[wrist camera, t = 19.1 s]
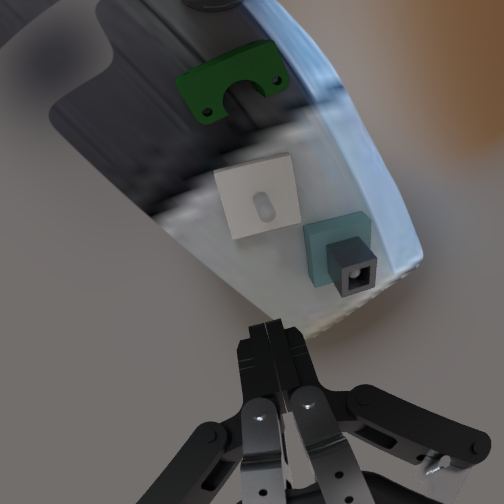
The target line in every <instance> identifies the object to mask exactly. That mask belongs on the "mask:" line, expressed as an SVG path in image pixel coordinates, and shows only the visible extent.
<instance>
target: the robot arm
mask: <svg viewBox="0 0 504 504" xmlns="http://www.w3.org/2000/svg"><path fill="white" fill-rule="evenodd" d="M182 1H183V2H184V3H185V4H186V5H188V6H190V7H191V8H194V9H197V10H200V11H205V12H217V11H224V10H227V9H230V8H233V7H235V6H237V5H238V4H240V3H241V2H243V1H244V0H182ZM265 324H266V328H267V332H268V335H267V332H266V328H265ZM265 324H264V323H261V324H257V325H253V326H249V333H250V338H249V339H245V340H240V342H239V345H238V348H237V356H238V364H239V372H240V379H241V386H242V393H243V405H242V407H241V409H240V411H239V412H238V413H237V414H236V415H235V416H233V417H231V418H229V419H228V420H226V421H223V422H221V423H217V422H205V423H202V424H201V425H199V426H198V427H197V428H196V430H195V431H194V432H193V434H192V435H191V436H190V437H189V439H188V440H187V441H186V443H185V444H184V445H183V447H182V448H181V449H180V450H179V452H178V453H177V455H176V456H175V457H174V458H173V459H172V461H171V462H170V463H169V464H168V466H167V467H166V468H165V470H164V471H163V472H162V473H161V474H160V476H159V477H158V478H157V479H156V481H155V482H154V483H153V484H152V485H151V487H150V488H149V489H148V490H147V491H146V493H145V494H144V495H143V496H142V497H141V498H140V500H139V501H138V502H137V503H136V504H210V502H211V501H212V500H213V498H214V497H215V496H216V494H217V493H218V492H219V490H220V489H221V488H222V486H223V485H224V484H225V482H226V481H227V479H228V478H229V477H230V475H231V474H232V472H233V471H234V470H235V468H236V467H237V465H238V464H239V462H240V461H241V459H242V458H243V460H242V462H241V467H240V473H241V489H242V500H241V501H239V502H238V503H237V504H452V503H453V502H454V500H455V498H456V497H457V495H458V493H459V491H460V490H461V488H462V486H463V484H464V482H465V480H466V478H467V476H468V474H469V472H470V470H471V468H472V467H473V466H474V465H476V464H478V463H480V462H482V461H483V460H485V458H486V457H487V456H488V454H489V452H490V449H491V439H490V437H489V436H488V435H487V434H486V433H485V432H482V431H479V430H476V429H474V428H471V427H468V426H465V425H462V424H460V423H458V422H455V421H453V420H450V419H447V418H445V417H442V416H440V415H438V414H435V413H433V412H430V411H428V410H426V409H423V408H421V407H418V406H416V405H414V404H412V403H409V402H407V401H405V400H402V399H400V398H398V397H396V396H394V395H392V394H389V393H387V392H385V391H383V390H381V389H379V388H377V387H374V386H372V385H368V384H364V385H359V386H356V387H355V388H353V389H352V390H351V391H331V390H328V389H326V388H324V387H323V386H322V385H321V384H320V383H319V381H318V378H317V376H316V372H315V369H314V366H313V364H312V361H311V358H310V355H309V352H308V349H307V346H306V343H305V340H304V337H303V335H302V333H301V332H300V331H299V330H298V329H297V328H296V327H291V328H288V329H284V328H283V325H282V321H281V318H280V319H276V320H273V321H269V322H266V323H265ZM268 336H269V338H268ZM269 341H270V342H269ZM282 394H283V395H282ZM283 397H284V399H283ZM284 400H285V404H286V407H287V410H288V412H292V413H293V416H294V420H295V423H296V427H297V430H298V433H299V436H300V438H301V441H302V444H303V447H304V450H305V453H306V455H307V458H308V461H309V464H310V467H311V470H312V473H313V476H314V479H315V481H316V483H314V484H312V485H310V486H308V487H306V488H303V489H294V488H293V481H292V474H291V470H290V465H289V458H288V451H287V444H286V436H285V425H284V421H283V416H282V414H283V413H286V408H285V404H284ZM341 432H348V433H349V434H351V435H353V436H355V437H357V438H359V439H361V440H363V441H365V442H367V443H369V444H370V445H372V446H374V447H376V448H378V449H380V450H383V451H385V452H387V453H389V454H391V455H393V456H396V457H398V458H400V459H402V460H404V461H407V462H409V463H411V464H414V465H415V467H414V470H413V476H414V479H415V481H416V482H418V483H419V484H421V485H422V486H423V488H424V490H425V496H424V495H422V494H419V493H417V492H415V491H413V490H410V489H408V488H406V487H404V486H402V485H400V484H398V483H396V482H393V481H391V480H390V479H388V478H386V477H384V476H382V475H380V474H376V473H374V472H369V471H361V470H360V467H359V465H358V463H357V460H356V458H355V456H354V453H353V451H352V449H351V447H350V444H349V442H348V440H347V439H346V437H344V436H343V434H342V433H341Z"/></svg>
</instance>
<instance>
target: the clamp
mask: <svg viewBox="0 0 504 504" xmlns="http://www.w3.org/2000/svg"><path fill="white" fill-rule="evenodd" d="M276 76H278V81H277V82H276V83H273V82H272V80H273V78H274V77H276ZM240 80H251V81H252V82H253V83H254V85H255V89H256V91H258V92H259V93H260V94H261V95H263V96H264V97H265V98H267V97H269V96H272V95H274V94H276V93H279V92H281V91H283V90H285V89H286V88H287V87H288V85H289V81H290V80H289V76H288V73H287V71H286V68H285V66H284V63H283V61H282V59H281V56H280V54H279V51H278V49H277V47H276V45H275V42H274V41H272V40H258V41H255V42H252V43H249V44H247V45H244V46H241V47H239V48H237V49H234V50H232V51H229V52H227V53H225V54H223V55H220V56H218V57H216V58H214V59H212V60H210V61H207V62H205V63H203V64H201V65H199V66H197V67H195V68H193V69H191V70H189V71H188V72H186V73H184V74H182V75H180V76H179V77H178V78H176V82H175V85H176V87H177V89H178V90H179V92H180V94H181V95H182V97H183V99H184V100H185V102H186V104H187V105H188V107H189V109H190V110H191V112H192V114H193V115H194V117H195V119H196V120H197V121H198V122H199V123H201V124H211V123H213V122H215V121H217V120H219V119H221V118H223V117H225V116H227V115H229V114H228V112H227V111H226V109H225V107H224V106H223V95H224V93H225V91H226V89H227V88H228V87H229V86H230V85H231V84H233V83H235V82H237V81H240ZM205 108H211V112H210V113H208V114H204V113H203V110H204V109H205Z"/></svg>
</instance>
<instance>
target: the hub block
mask: <svg viewBox="0 0 504 504" xmlns="http://www.w3.org/2000/svg"><path fill="white" fill-rule="evenodd" d="M303 229H304V237H305V244H306V252H307V260H308V269H309V277H310V279H311V281H312V283H313V285H314V287H319V286H322V285H326V284H329V283H333V281H332V279H331V278H330V276H329V274H328V266H327V251H326V245H327V244H331V243H335V242H338V241H342V240H346V239H349V238H353V237H357V236H359V237H360V238H361V240H362V241H363V242H364V243H365V244H366V245H367V246H368V248H369V249H370V242H371V219H370V218H369V217H368V216H366V215H365V214H364V213H363V212H362V211H361V212H357V213H353V214H349V215H345V216H341V217H337V218H333V219H329V220H325V221H321V222H317V223H313V224H309V225H305V226H303ZM359 274H360V269H358V270H355V271H352V272H349V277H350V278H356V277H357V276H358V275H359Z"/></svg>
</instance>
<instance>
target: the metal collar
mask: <svg viewBox="0 0 504 504" xmlns="http://www.w3.org/2000/svg"><path fill="white" fill-rule="evenodd" d="M326 251H327V266H328V274H329V276H330V278H331V279H332V281H333V283H334V285H335V286H336V288H337V290H338V292H339V293H340V295H341V297H342V298H343V297H346V296H349V295H352V294H355V293H358V292H361V291H365V290H368V289H371V288H373V287H375V279H376V267H377V257H376V256H375V255H374V254H373V252H372V251H371V250H370V249H369V248H368V246H367V245H366V244H365V243H364V242H363V241H362V240H361V238H360V237H359V236H357V237H353V238H349V239H346V240H342V241H338V242H335V243H331V244H327V245H326ZM358 269H360V274H359V275H358V276H357V277H356V278H350V277H349V272H352V271H355V270H358Z"/></svg>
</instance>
